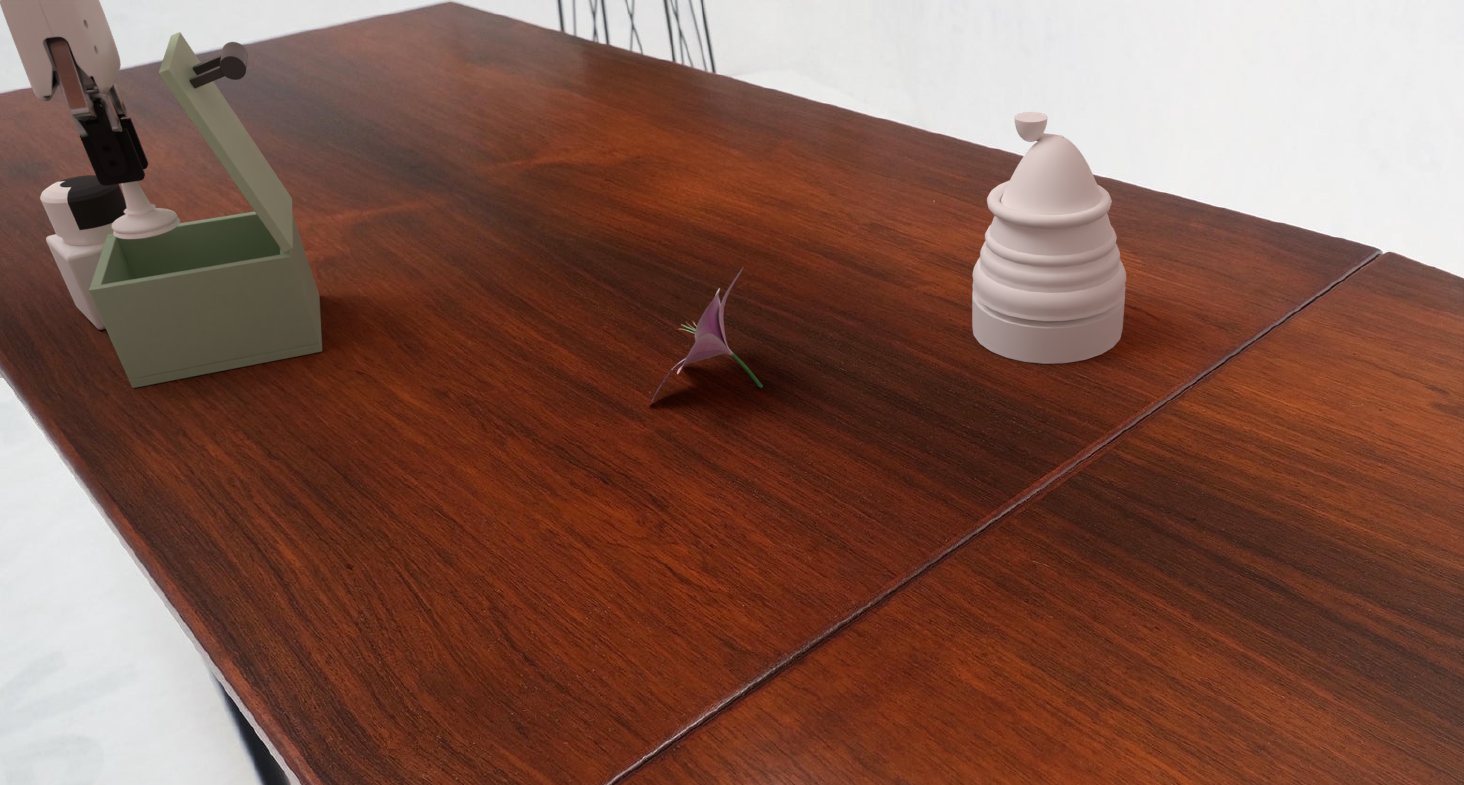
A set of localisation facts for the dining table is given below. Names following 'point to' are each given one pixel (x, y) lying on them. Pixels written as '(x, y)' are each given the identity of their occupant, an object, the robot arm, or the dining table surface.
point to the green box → (206, 299)
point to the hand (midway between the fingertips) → (124, 174)
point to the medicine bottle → (81, 232)
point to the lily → (710, 337)
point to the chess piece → (142, 216)
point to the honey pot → (1048, 258)
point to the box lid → (228, 129)
